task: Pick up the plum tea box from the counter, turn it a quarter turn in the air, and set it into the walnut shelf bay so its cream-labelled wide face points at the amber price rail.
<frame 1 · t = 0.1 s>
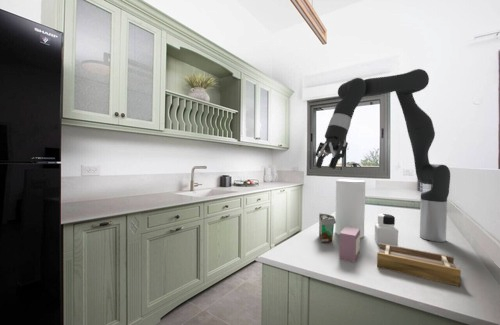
hand: (324, 167, 86), 31 cm above the worktop, tool tilted 20°, fingers open, 8 cm apart
tea box: (349, 255, 83), on the worktop
food container: (327, 240, 99), on the worktop
medicine bottle: (385, 244, 95), on the worktop
cylinder: (349, 234, 108), on the worktop
shelf: (414, 268, 73), on the worktop
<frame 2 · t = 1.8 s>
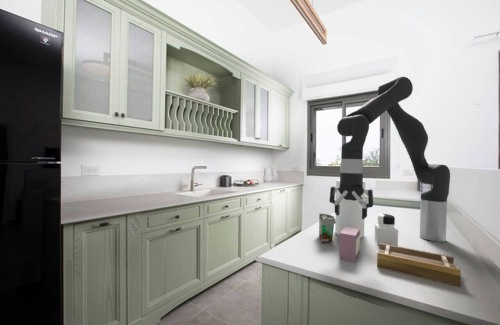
hand: (350, 216, 83), 14 cm above the worktop, tool pointing down, fingers open, 8 cm apart
nothing on the worktop moved.
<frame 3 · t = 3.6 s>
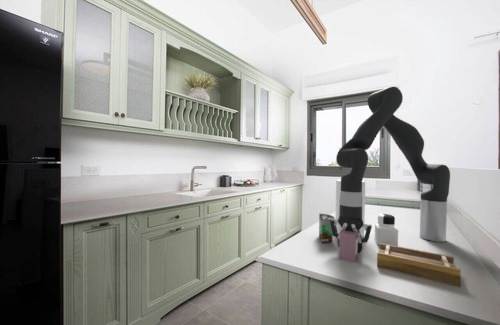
hand: (349, 250, 83), 2 cm above the worktop, tool pointing down, fingers closed on tea box, 5 cm apart
tea box: (349, 255, 83), on the worktop, touching gripper
everything else where it was.
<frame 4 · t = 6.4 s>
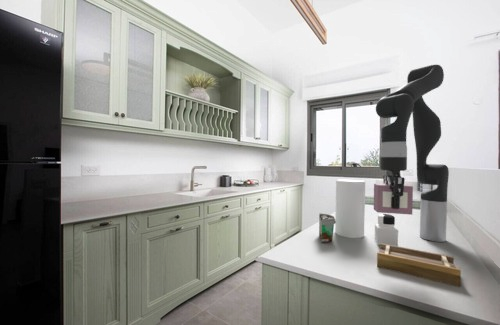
hand: (392, 206, 77), 19 cm above the worktop, tool pointing down, fingers closed on tea box, 5 cm apart
tea box: (392, 211, 77), point 17 cm above the worktop, touching gripper
everything else where it was.
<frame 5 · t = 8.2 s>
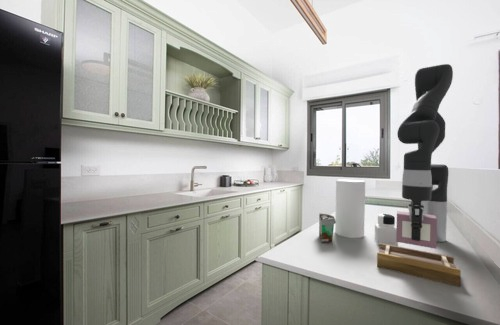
hand: (415, 237, 73), 10 cm above the worktop, tool pointing down, fingers closed on tea box, 5 cm apart
tea box: (415, 242, 73), point 8 cm above the worktop, touching gripper
everything else where it was.
when the fingers open (6 cm above the worktop, at t = 9.4 s): tea box drops 1 cm, resting on shelf.
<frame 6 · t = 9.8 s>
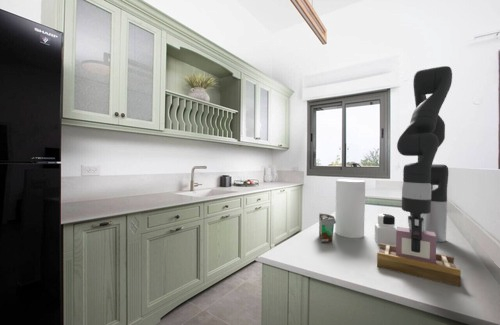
hand: (414, 247, 73), 7 cm above the worktop, tool pointing down, fingers open, 8 cm apart
tea box: (414, 259, 73), point 3 cm above the worktop, touching shelf
everything else where it was.
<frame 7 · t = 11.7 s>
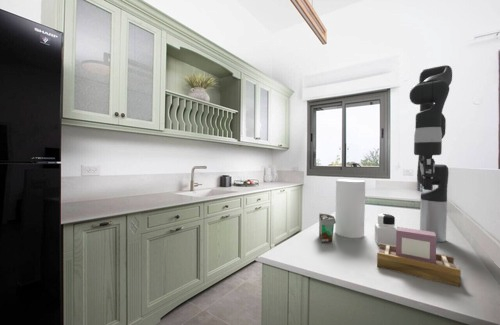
hand: (426, 188, 80), 25 cm above the worktop, tool pointing down, fingers open, 8 cm apart
nothing on the worktop moved.
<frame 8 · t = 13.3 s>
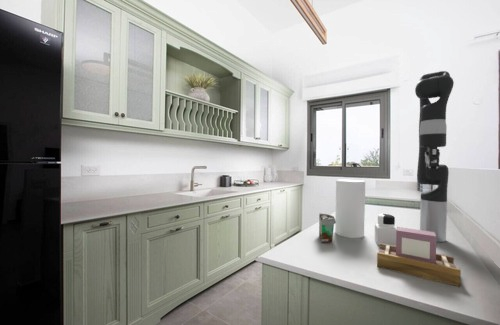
hand: (431, 178, 82), 28 cm above the worktop, tool pointing down, fingers open, 8 cm apart
nothing on the worktop moved.
at the end: tea box 0.0 cm off-centre on the shelf, point 3.0 cm above the shelf's base; tea box tilted 0°; the gripper is holding nothing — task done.
